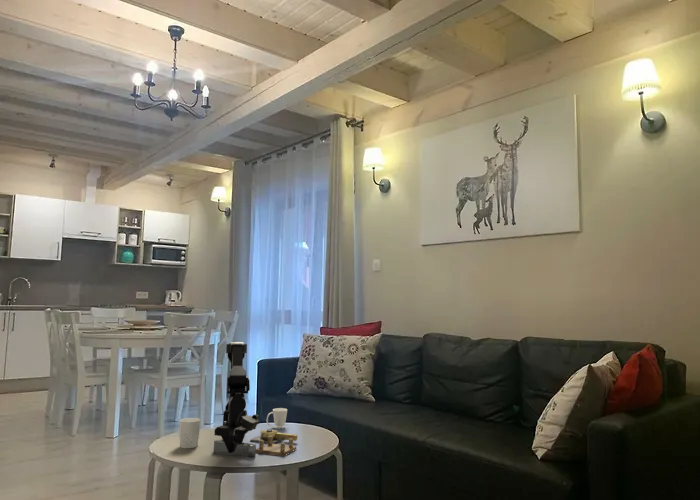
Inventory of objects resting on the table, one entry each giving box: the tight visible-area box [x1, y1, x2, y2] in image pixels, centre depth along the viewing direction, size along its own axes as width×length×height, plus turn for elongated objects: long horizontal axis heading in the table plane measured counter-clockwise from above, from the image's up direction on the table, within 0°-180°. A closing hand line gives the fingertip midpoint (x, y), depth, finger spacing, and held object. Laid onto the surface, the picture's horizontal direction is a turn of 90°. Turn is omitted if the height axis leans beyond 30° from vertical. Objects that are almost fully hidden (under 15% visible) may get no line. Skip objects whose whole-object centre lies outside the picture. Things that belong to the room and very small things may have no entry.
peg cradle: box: [256, 436, 297, 457], centre depth 200 cm, size 12×10×4 cm
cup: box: [266, 407, 288, 429], centre depth 240 cm, size 7×10×8 cm
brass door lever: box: [260, 429, 298, 442], centre depth 216 cm, size 16×7×3 cm, turn 69°
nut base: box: [250, 434, 285, 445], centre depth 217 cm, size 11×11×1 cm
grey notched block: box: [213, 439, 257, 459], centre depth 195 cm, size 18×4×4 cm, turn 69°
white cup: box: [178, 417, 201, 449], centre depth 205 cm, size 8×8×10 cm
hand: (234, 451), depth 195 cm, fingers open, 5 cm apart
